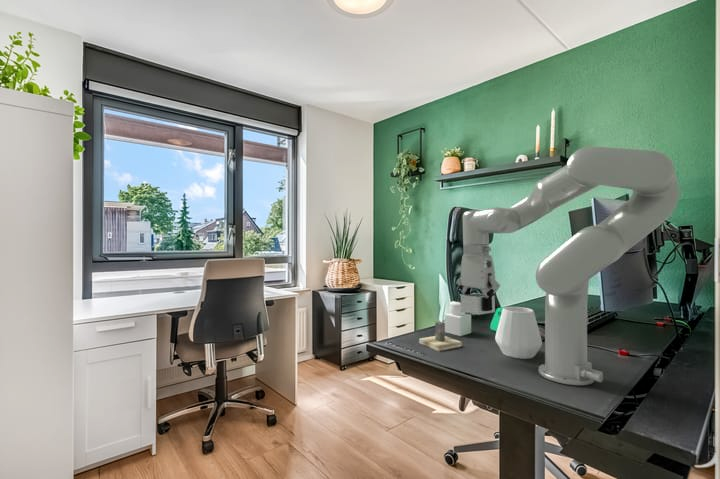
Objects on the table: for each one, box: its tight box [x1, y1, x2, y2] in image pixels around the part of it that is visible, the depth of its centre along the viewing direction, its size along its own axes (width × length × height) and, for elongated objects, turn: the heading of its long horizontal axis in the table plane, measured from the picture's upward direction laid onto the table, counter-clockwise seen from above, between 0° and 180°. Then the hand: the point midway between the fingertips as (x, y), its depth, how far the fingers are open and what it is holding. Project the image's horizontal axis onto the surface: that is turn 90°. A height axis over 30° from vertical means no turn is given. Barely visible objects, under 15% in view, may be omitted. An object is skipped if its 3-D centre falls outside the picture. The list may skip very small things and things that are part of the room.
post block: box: [418, 321, 463, 352], centre depth 120 cm, size 10×10×8 cm
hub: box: [460, 292, 496, 316], centre depth 108 cm, size 7×7×5 cm
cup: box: [494, 306, 543, 360], centre depth 111 cm, size 13×13×14 cm
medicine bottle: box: [444, 300, 472, 337], centre depth 135 cm, size 7×7×12 cm
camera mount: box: [489, 307, 504, 333], centre depth 133 cm, size 12×8×10 cm, turn 13°
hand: (477, 308), depth 108 cm, fingers closed on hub, 7 cm apart
